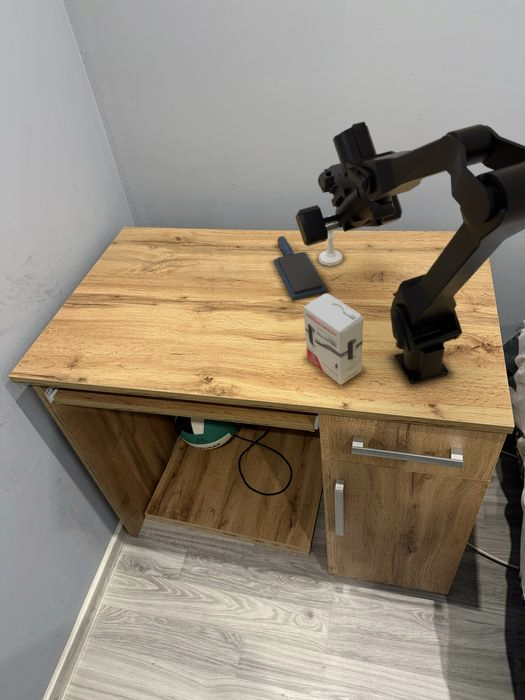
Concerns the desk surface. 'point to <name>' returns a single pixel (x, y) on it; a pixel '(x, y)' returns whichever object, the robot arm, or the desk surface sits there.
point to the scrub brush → (298, 272)
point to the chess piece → (330, 252)
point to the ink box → (334, 337)
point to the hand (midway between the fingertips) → (335, 229)
